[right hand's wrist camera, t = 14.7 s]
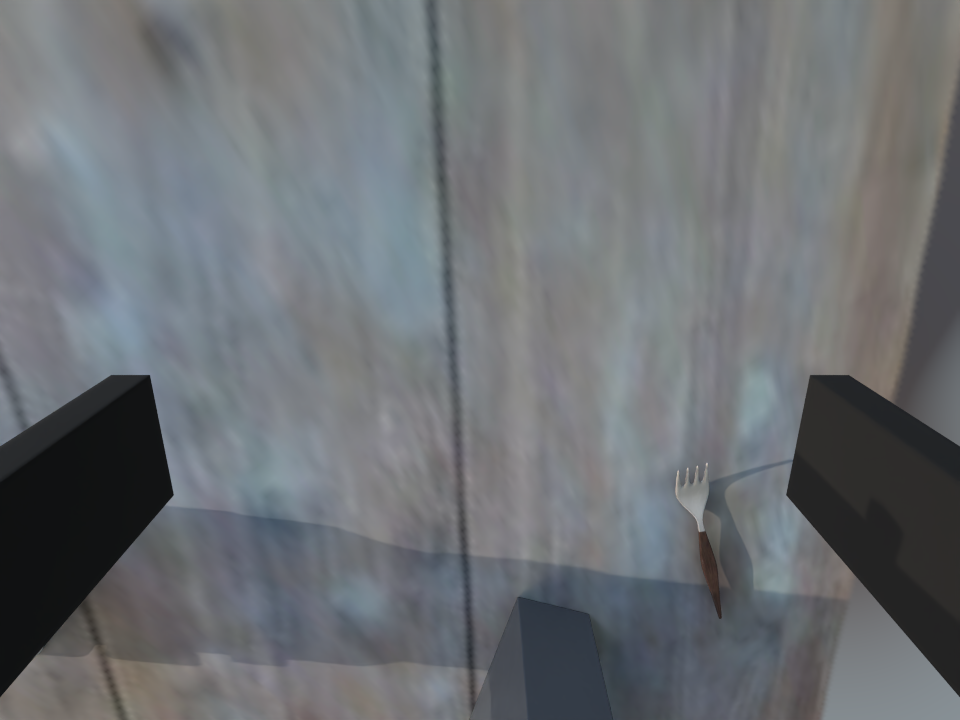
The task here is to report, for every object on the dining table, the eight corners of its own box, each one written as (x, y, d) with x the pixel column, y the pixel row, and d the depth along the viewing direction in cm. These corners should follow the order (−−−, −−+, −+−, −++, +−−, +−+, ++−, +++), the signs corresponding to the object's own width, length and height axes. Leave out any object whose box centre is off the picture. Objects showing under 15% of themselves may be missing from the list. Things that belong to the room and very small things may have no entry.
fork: (702, 617, 52) (710, 635, 50) (667, 458, 46) (675, 471, 44) (733, 610, 51) (742, 628, 49) (701, 449, 46) (710, 462, 44)
